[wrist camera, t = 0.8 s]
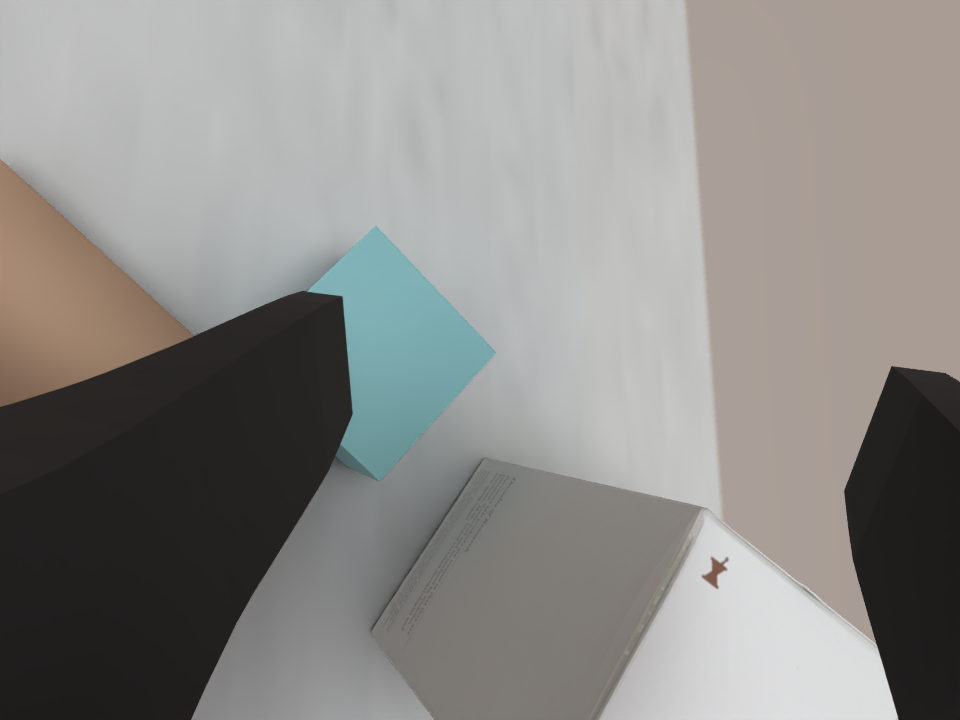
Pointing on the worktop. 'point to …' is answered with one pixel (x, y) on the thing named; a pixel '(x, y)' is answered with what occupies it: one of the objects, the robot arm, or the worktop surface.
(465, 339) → the teal cube
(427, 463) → the worktop surface
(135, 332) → the walnut block
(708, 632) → the supplement box
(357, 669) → the worktop surface
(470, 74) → the worktop surface
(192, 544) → the robot arm
